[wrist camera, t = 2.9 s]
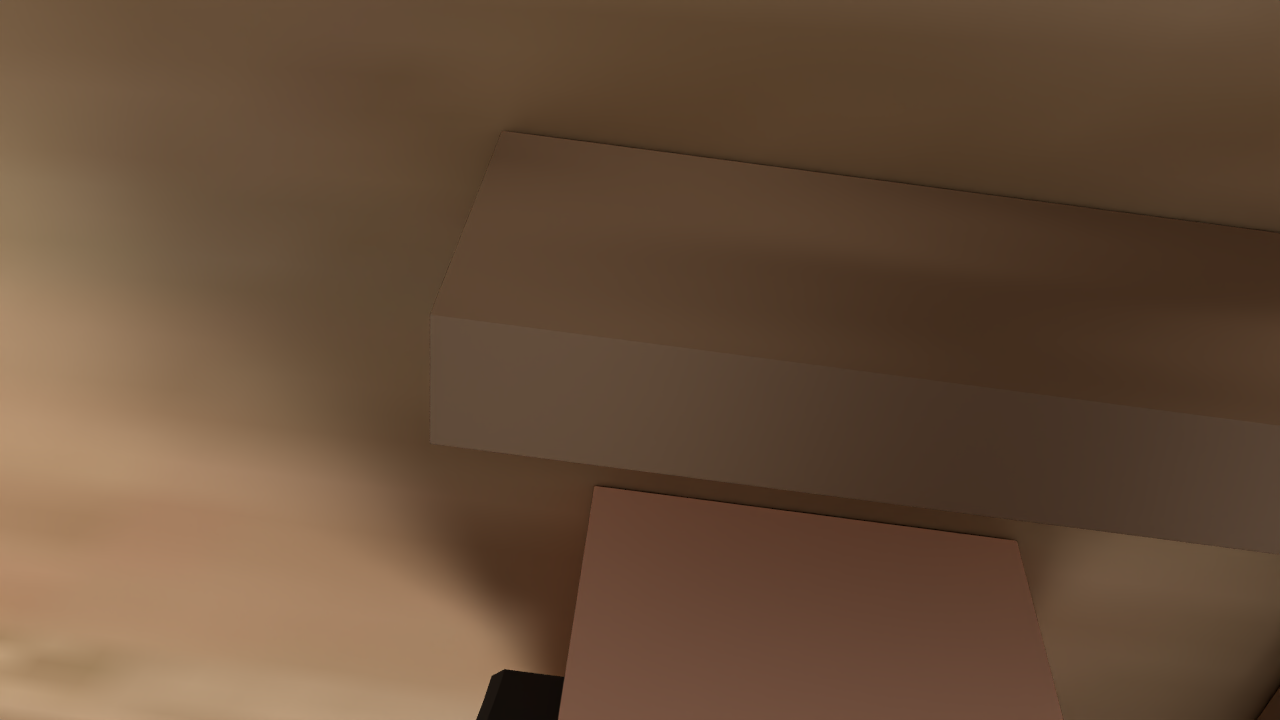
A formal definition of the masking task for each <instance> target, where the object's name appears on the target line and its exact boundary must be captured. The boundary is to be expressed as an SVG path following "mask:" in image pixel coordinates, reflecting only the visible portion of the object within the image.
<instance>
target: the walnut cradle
mask: <svg viewBox="0 0 1280 720" xmlns="http://www.w3.org/2000/svg"><path fill="white" fill-rule="evenodd" d="M430 444H436V445H444V446H452V447H459V448H467V449H475V450H482V451H490V452H498V453H505V454H513V455H521V456H528V457H536V458H544V459H551V460H559V461H567V462H574V463H582V464H590V465H597V466H605V467H613V468H620V469H628V470H636V471H643V472H651V473H659V474H666V475H674V476H682V477H689V478H697V479H705V480H712V481H720V482H728V483H735V484H743V485H751V486H758V487H766V488H774V489H781V490H789V491H797V492H804V493H812V494H820V495H827V496H835V497H843V498H850V499H858V500H866V501H873V502H881V503H889V504H896V505H904V506H912V507H919V508H927V509H935V510H942V511H950V512H958V513H965V514H973V515H981V516H988V517H996V518H1004V519H1011V520H1019V521H1027V522H1035V523H1042V524H1050V525H1058V526H1065V527H1073V528H1081V529H1088V530H1096V531H1104V532H1111V533H1119V534H1127V535H1134V536H1142V537H1150V538H1157V539H1165V540H1173V541H1180V542H1188V543H1196V544H1203V545H1211V546H1219V547H1226V548H1234V549H1242V550H1249V551H1257V552H1265V553H1272V554H1280V233H1275V232H1267V231H1260V230H1252V229H1245V228H1237V227H1229V226H1222V225H1214V224H1207V223H1199V222H1191V221H1184V220H1176V219H1169V218H1161V217H1153V216H1146V215H1138V214H1131V213H1123V212H1115V211H1108V210H1100V209H1093V208H1085V207H1078V206H1070V205H1062V204H1055V203H1047V202H1040V201H1032V200H1024V199H1017V198H1009V197H1002V196H994V195H986V194H979V193H971V192H964V191H956V190H948V189H941V188H933V187H926V186H918V185H910V184H903V183H895V182H888V181H880V180H872V179H865V178H857V177H850V176H842V175H834V174H827V173H819V172H812V171H804V170H796V169H789V168H781V167H774V166H766V165H758V164H751V163H743V162H736V161H728V160H720V159H713V158H705V157H698V156H690V155H683V154H675V153H667V152H660V151H652V150H645V149H637V148H629V147H622V146H614V145H607V144H599V143H591V142H584V141H576V140H569V139H561V138H553V137H546V136H538V135H531V134H523V133H515V132H508V131H502V132H501V135H500V137H499V140H498V142H497V145H496V147H495V150H494V153H493V155H492V158H491V160H490V163H489V165H488V168H487V170H486V173H485V176H484V178H483V181H482V183H481V186H480V188H479V191H478V193H477V196H476V198H475V201H474V204H473V206H472V209H471V211H470V214H469V216H468V219H467V221H466V224H465V227H464V229H463V232H462V234H461V237H460V239H459V242H458V244H457V247H456V250H455V252H454V255H453V257H452V260H451V262H450V265H449V267H448V270H447V272H446V275H445V278H444V280H443V283H442V285H441V288H440V290H439V293H438V295H437V298H436V301H435V303H434V306H433V308H432V311H431V313H430ZM1257 720H1280V687H1279V689H1278V690H1277V692H1276V693H1275V695H1274V696H1273V697H1272V699H1271V700H1270V702H1269V703H1268V705H1267V706H1266V708H1265V709H1264V711H1263V712H1262V714H1261V715H1260V716H1259V718H1258V719H1257Z"/></svg>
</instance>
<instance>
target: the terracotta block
mask: <svg viewBox="0 0 1280 720" xmlns="http://www.w3.org/2000/svg"><path fill="white" fill-rule="evenodd" d="M558 720H1064V719H1063V715H1062V712H1061V708H1060V704H1059V700H1058V696H1057V693H1056V689H1055V685H1054V681H1053V677H1052V673H1051V670H1050V666H1049V662H1048V658H1047V654H1046V651H1045V647H1044V643H1043V639H1042V635H1041V631H1040V628H1039V624H1038V620H1037V616H1036V612H1035V609H1034V605H1033V601H1032V597H1031V593H1030V589H1029V586H1028V582H1027V578H1026V574H1025V570H1024V567H1023V563H1022V559H1021V555H1020V551H1019V547H1018V544H1017V541H1014V540H1006V539H998V538H991V537H983V536H975V535H968V534H960V533H952V532H945V531H937V530H929V529H922V528H914V527H906V526H899V525H891V524H883V523H876V522H868V521H860V520H852V519H845V518H837V517H829V516H822V515H814V514H806V513H799V512H791V511H783V510H776V509H768V508H760V507H753V506H745V505H737V504H730V503H722V502H714V501H707V500H699V499H691V498H684V497H676V496H668V495H661V494H653V493H645V492H638V491H630V490H622V489H615V488H607V487H599V486H594V491H593V498H592V504H591V511H590V517H589V524H588V530H587V537H586V543H585V549H584V556H583V562H582V569H581V575H580V582H579V588H578V594H577V601H576V607H575V614H574V620H573V627H572V633H571V639H570V646H569V652H568V659H567V665H566V672H565V678H564V685H563V691H562V697H561V704H560V710H559V717H558Z"/></svg>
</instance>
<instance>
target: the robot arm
mask: <svg viewBox="0 0 1280 720" xmlns="http://www.w3.org/2000/svg"><path fill="white" fill-rule="evenodd" d="M564 678H565V677H560V676H552V675H544V674H536V673H529V672H521V671H513V670H506V669H504V670H502V671H500V672H498V673H497V674H495V675H493V676H492V677H491V680H490V683H489V686H488V689H487V692H486V695H485V698H484V701H483V704H482V706H481V709H480V711H479V714H478V716H477V719H476V720H558V717H559V710H560V704H561V697H562V691H563V685H564Z"/></svg>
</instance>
